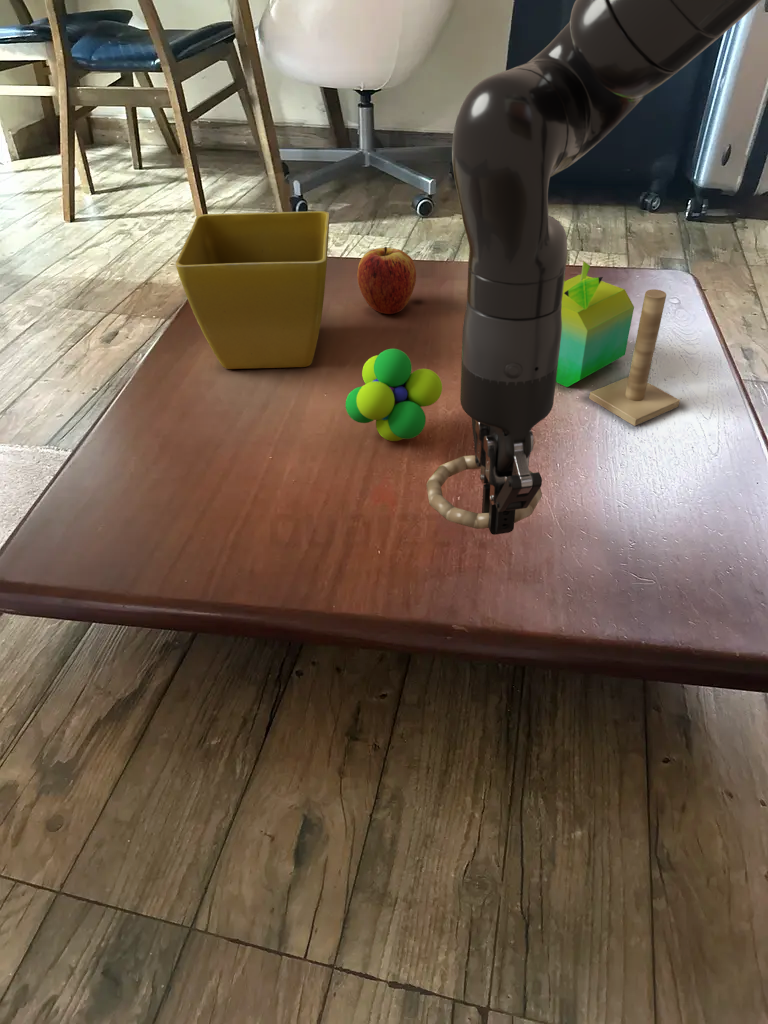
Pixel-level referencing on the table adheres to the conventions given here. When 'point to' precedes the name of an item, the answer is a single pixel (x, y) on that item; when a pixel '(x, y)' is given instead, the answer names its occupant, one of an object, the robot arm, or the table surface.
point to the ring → (456, 513)
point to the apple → (386, 279)
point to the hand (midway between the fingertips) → (497, 523)
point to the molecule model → (394, 395)
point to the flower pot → (257, 285)
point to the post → (639, 372)
